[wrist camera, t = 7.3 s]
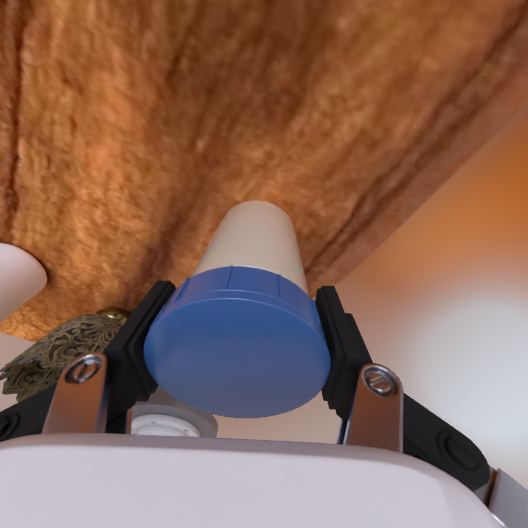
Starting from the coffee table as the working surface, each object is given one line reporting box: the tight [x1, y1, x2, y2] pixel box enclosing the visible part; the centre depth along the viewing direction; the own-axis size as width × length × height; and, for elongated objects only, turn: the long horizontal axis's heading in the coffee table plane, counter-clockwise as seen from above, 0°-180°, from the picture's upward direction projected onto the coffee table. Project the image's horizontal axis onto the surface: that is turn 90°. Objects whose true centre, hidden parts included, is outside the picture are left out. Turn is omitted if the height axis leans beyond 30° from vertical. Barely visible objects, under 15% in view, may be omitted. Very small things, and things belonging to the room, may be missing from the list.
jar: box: [190, 200, 310, 297], centre depth 13 cm, size 6×6×11 cm
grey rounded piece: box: [0, 307, 130, 403], centre depth 20 cm, size 8×7×8 cm
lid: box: [144, 265, 331, 418], centre depth 9 cm, size 7×7×2 cm
